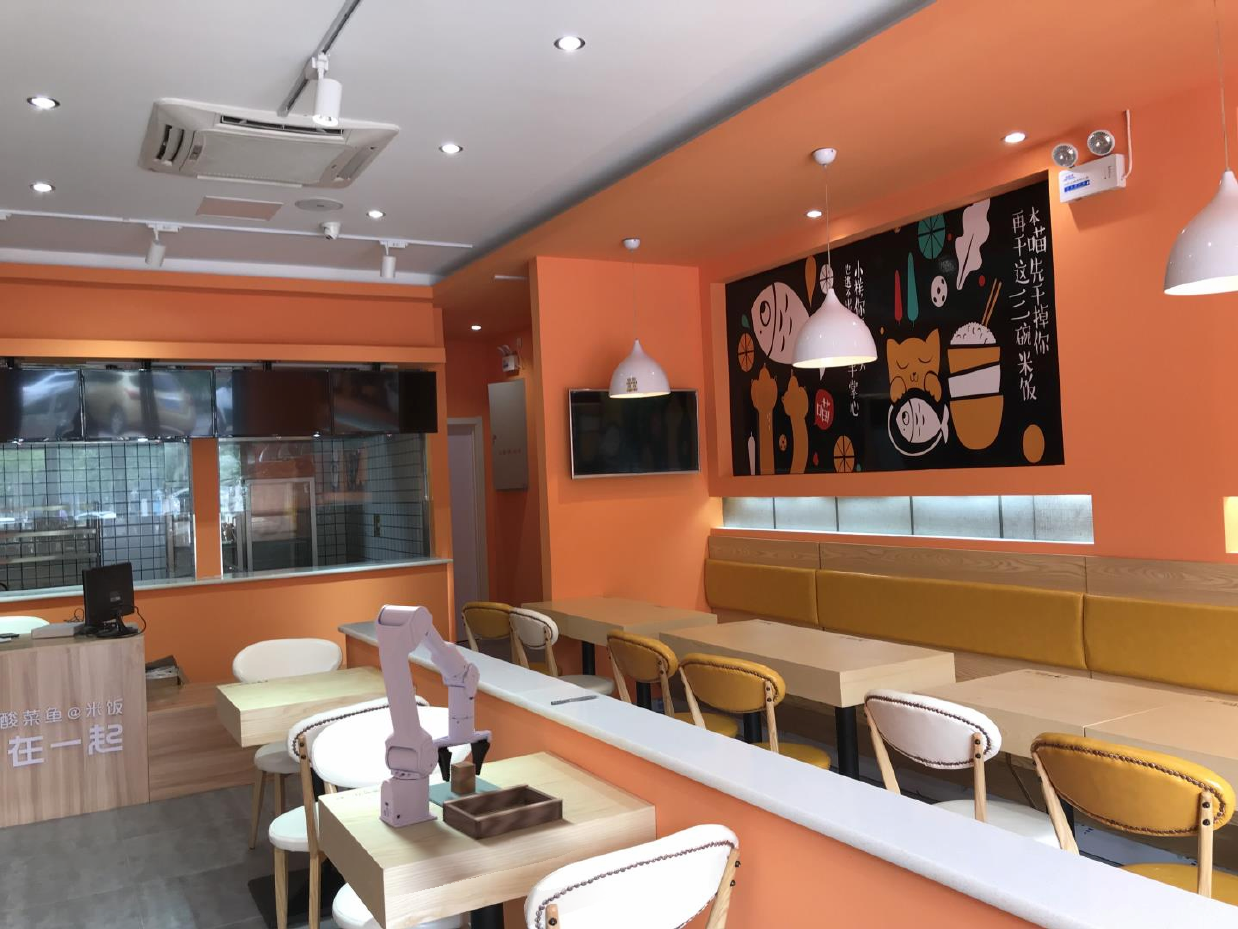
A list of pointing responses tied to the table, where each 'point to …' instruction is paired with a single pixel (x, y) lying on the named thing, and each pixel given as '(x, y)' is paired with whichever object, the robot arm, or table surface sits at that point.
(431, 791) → the mat
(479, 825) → the frame
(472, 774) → the walnut block
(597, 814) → the table surface
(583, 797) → the table surface
